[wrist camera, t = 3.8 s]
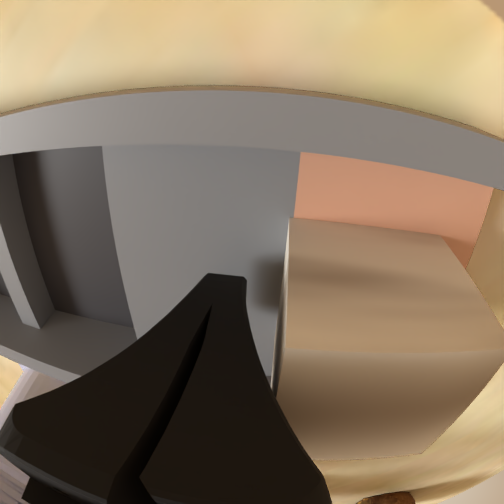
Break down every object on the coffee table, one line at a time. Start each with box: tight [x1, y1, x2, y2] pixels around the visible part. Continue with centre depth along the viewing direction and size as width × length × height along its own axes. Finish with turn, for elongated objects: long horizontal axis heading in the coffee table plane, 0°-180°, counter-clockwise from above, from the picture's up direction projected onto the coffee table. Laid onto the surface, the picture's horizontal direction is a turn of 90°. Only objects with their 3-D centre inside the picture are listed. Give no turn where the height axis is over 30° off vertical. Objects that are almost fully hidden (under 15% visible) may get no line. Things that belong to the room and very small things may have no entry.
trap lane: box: [0, 86, 504, 387], centre depth 11 cm, size 12×29×4 cm, turn 88°
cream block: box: [271, 217, 504, 460], centre depth 8 cm, size 5×5×5 cm
